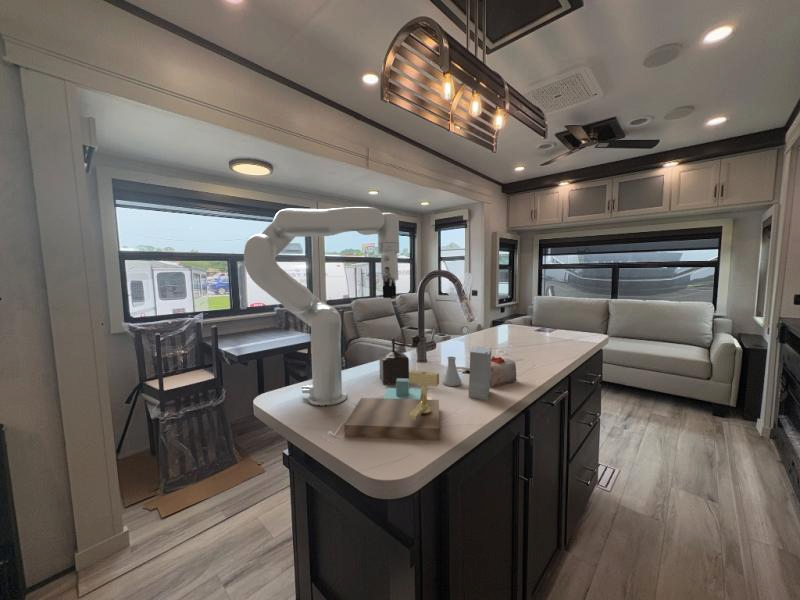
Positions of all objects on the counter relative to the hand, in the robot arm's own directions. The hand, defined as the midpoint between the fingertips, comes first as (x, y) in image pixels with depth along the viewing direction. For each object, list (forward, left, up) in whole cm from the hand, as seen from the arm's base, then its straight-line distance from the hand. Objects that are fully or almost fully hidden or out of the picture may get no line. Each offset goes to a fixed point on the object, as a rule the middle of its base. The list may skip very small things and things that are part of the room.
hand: (389, 297), depth 112 cm
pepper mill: (+2, +10, -34) cm, 35 cm away
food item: (+39, +8, -34) cm, 52 cm away
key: (+12, -30, -30) cm, 44 cm away
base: (+5, -27, -33) cm, 43 cm away
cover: (+5, -9, -34) cm, 35 cm away
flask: (+22, +6, -34) cm, 41 cm away
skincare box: (+31, -5, -34) cm, 46 cm away
